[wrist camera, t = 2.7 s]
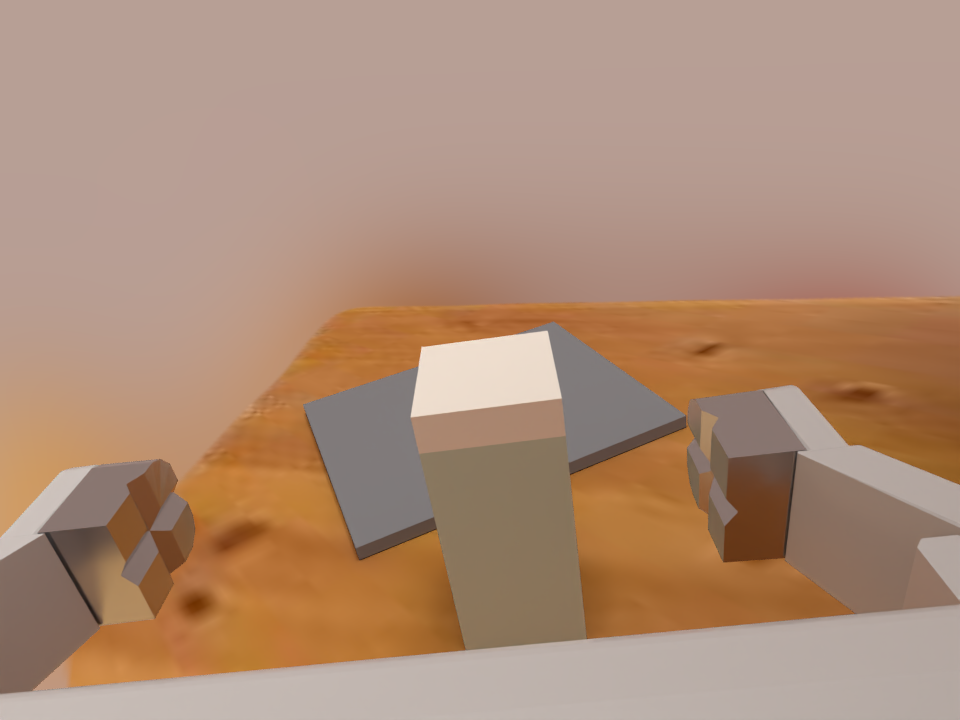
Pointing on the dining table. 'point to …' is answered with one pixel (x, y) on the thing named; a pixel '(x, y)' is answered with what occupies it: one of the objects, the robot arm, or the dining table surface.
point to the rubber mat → (395, 457)
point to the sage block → (501, 488)
